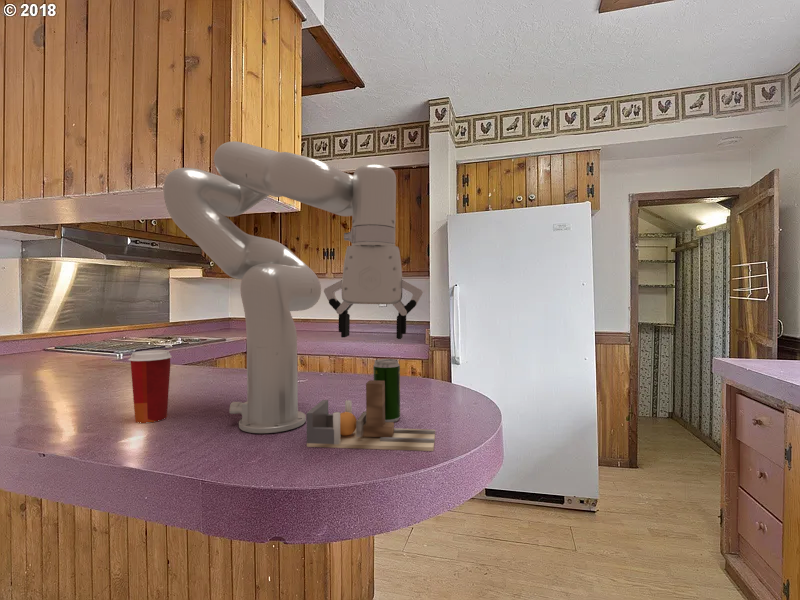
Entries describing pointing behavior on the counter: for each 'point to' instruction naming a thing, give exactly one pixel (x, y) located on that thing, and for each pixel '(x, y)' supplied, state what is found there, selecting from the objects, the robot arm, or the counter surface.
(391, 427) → the kicker
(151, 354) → the paper cup
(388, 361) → the beer can
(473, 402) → the counter surface
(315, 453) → the counter surface
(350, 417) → the ball
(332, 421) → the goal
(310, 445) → the board
